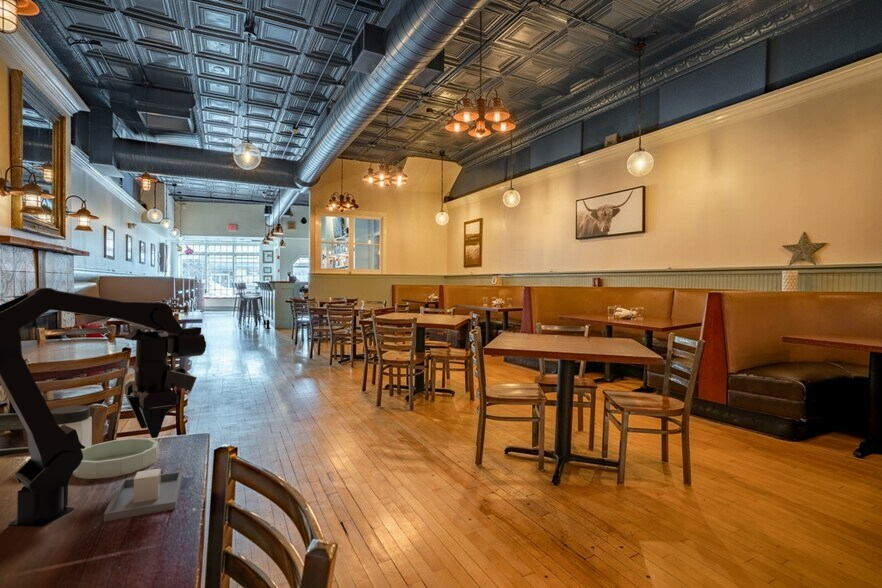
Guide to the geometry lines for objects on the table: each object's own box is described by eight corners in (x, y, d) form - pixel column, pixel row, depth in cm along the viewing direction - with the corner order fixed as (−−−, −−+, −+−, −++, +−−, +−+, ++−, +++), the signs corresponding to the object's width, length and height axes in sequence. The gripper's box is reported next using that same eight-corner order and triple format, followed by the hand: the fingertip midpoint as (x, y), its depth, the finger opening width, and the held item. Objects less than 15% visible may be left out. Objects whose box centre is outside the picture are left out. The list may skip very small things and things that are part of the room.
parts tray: (175, 510, 83) (175, 501, 83) (103, 523, 78) (103, 514, 78) (182, 478, 97) (182, 470, 97) (122, 487, 92) (122, 479, 92)
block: (157, 498, 87) (158, 475, 87) (133, 502, 85) (133, 479, 85) (160, 490, 90) (160, 468, 90) (137, 494, 88) (137, 471, 88)
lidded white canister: (44, 467, 102) (45, 416, 102) (43, 457, 108) (44, 409, 108) (93, 457, 109) (93, 409, 109) (89, 449, 115) (90, 403, 115)
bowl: (122, 481, 95) (122, 463, 95) (53, 478, 96) (53, 460, 96) (171, 454, 111) (172, 439, 111) (112, 452, 112) (112, 437, 112)
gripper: (206, 361, 93) (204, 435, 93) (180, 353, 106) (178, 417, 106) (145, 366, 85) (142, 446, 85) (125, 356, 98) (122, 426, 98)
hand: (149, 432), depth 94 cm, fingers open, 9 cm apart
